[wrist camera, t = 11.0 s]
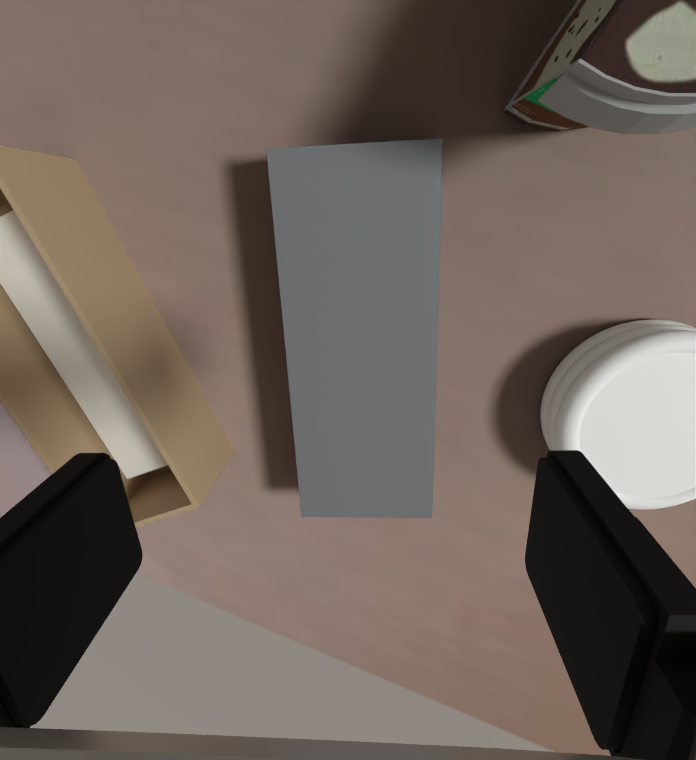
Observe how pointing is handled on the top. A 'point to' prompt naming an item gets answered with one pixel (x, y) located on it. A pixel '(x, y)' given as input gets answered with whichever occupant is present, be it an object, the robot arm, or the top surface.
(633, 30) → the food container
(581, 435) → the white short cylinder
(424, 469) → the lid
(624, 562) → the robot arm
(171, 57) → the top surface
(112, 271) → the tan open box
